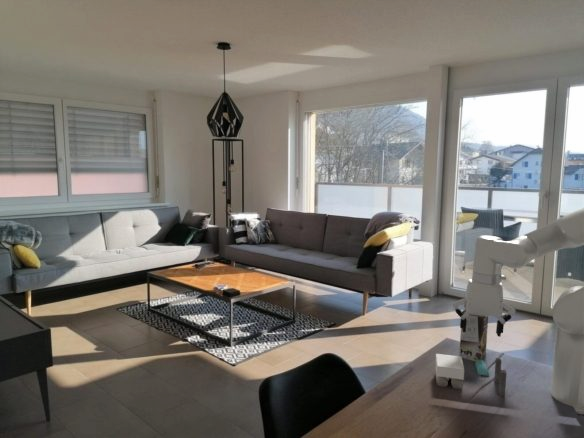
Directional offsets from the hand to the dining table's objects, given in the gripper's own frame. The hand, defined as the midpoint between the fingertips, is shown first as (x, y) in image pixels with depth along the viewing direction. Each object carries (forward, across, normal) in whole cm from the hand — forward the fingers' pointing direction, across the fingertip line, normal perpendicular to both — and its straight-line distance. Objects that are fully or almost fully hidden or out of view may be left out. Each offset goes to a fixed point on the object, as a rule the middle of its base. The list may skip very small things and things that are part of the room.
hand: (480, 332), depth 129 cm
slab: (+9, +9, +10) cm, 16 cm away
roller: (+12, -1, 0) cm, 12 cm away
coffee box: (+13, 0, -10) cm, 16 cm away
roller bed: (+13, +4, +10) cm, 17 cm away
